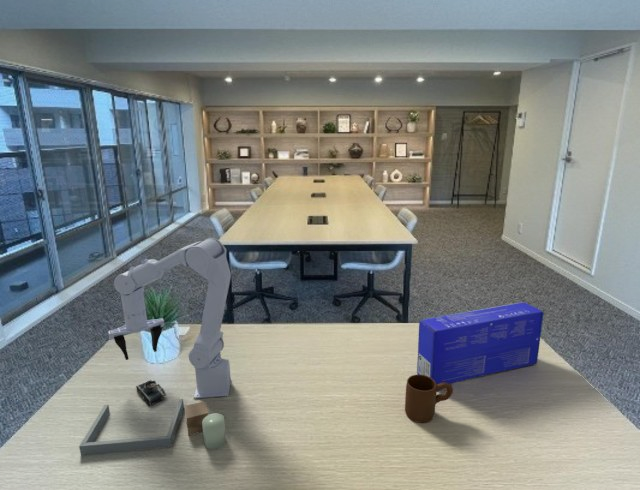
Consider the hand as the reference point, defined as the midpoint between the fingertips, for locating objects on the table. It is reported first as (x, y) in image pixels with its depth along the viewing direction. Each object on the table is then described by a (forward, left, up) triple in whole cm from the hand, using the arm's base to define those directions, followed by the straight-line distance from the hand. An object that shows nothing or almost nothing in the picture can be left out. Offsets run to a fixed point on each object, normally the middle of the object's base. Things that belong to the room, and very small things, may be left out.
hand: (140, 354), depth 117 cm
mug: (-78, +25, -9) cm, 83 cm away
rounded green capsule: (-24, +28, -9) cm, 38 cm away
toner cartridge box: (-101, +7, -9) cm, 102 cm away
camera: (-4, +7, -9) cm, 12 cm away
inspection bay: (-4, +21, -9) cm, 23 cm away
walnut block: (-19, +22, -9) cm, 30 cm away
